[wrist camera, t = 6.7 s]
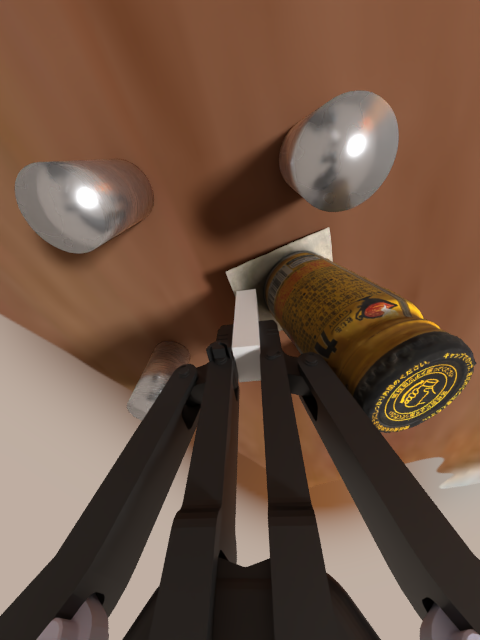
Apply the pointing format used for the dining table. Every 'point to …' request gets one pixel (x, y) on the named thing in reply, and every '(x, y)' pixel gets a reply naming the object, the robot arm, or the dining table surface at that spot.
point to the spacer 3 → (341, 151)
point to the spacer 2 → (156, 376)
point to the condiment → (358, 332)
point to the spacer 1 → (82, 201)
